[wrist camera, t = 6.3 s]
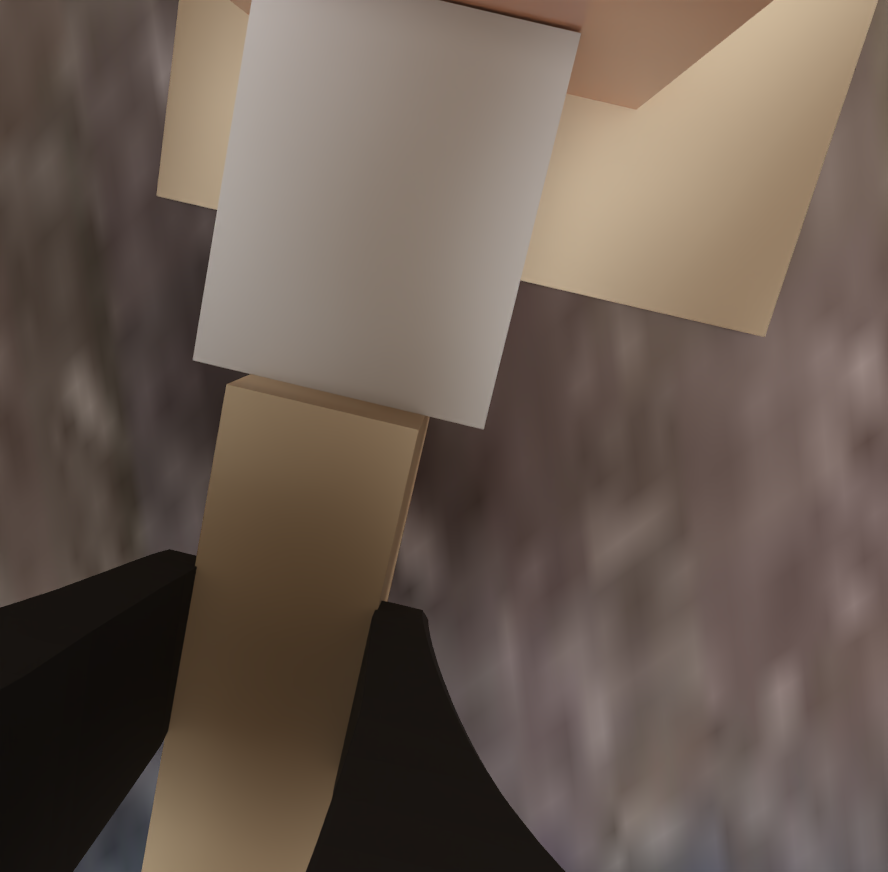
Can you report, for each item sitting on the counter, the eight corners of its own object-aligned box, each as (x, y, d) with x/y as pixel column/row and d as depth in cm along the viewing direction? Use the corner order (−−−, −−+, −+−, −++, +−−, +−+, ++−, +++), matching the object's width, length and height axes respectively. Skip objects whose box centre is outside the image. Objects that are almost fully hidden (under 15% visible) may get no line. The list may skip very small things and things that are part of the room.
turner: (153, 829, 15) (68, 971, 12) (297, 10, 12) (232, -78, 9) (367, 882, 14) (336, 1036, 12) (566, 73, 12) (591, 5, 9)
